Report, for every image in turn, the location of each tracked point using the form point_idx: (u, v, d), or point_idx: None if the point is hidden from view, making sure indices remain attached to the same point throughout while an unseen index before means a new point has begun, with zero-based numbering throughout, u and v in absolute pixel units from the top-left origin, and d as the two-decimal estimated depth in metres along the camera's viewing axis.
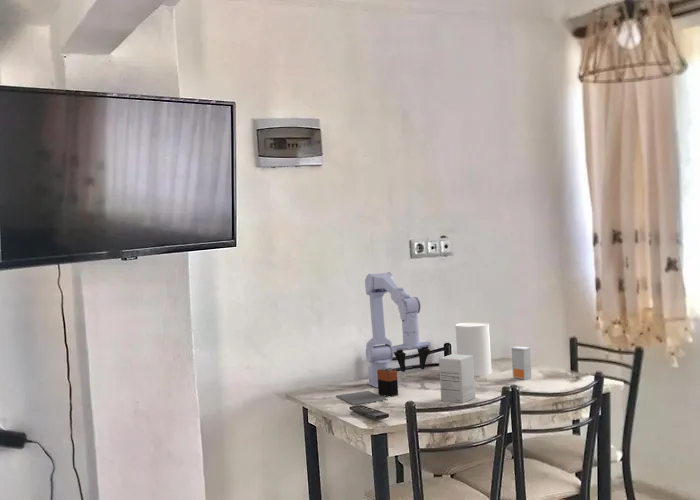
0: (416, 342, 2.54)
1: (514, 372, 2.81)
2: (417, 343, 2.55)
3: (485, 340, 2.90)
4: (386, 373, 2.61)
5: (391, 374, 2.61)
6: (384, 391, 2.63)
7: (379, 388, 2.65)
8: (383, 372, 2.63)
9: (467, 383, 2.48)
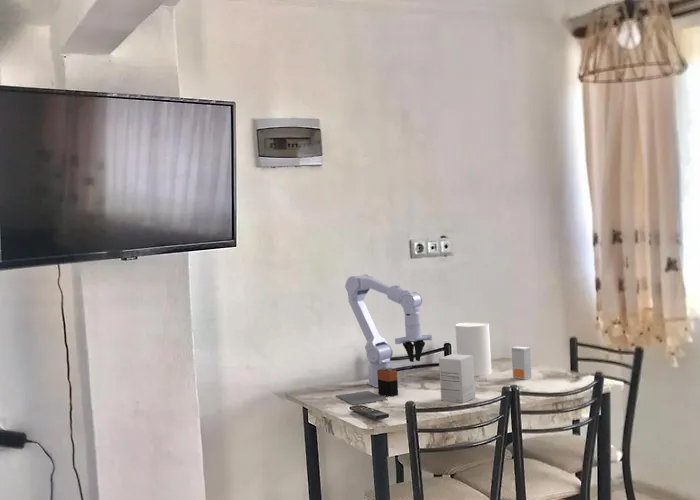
0: (418, 335, 2.70)
1: (514, 372, 2.81)
2: (419, 336, 2.70)
3: (485, 340, 2.90)
4: (386, 373, 2.61)
5: (391, 374, 2.61)
6: (384, 391, 2.63)
7: (379, 388, 2.65)
8: (383, 372, 2.63)
9: (467, 383, 2.48)
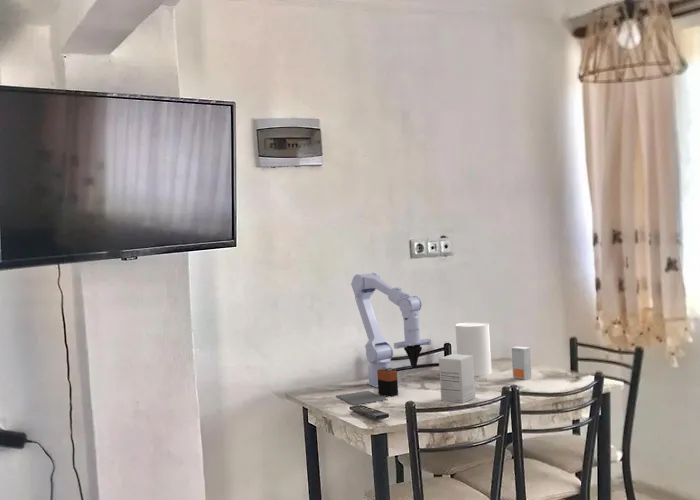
0: (417, 339, 2.66)
1: (514, 372, 2.81)
2: (418, 340, 2.67)
3: (485, 340, 2.90)
4: (386, 373, 2.61)
5: (391, 374, 2.61)
6: (384, 391, 2.63)
7: (379, 388, 2.65)
8: (383, 372, 2.63)
9: (467, 383, 2.48)
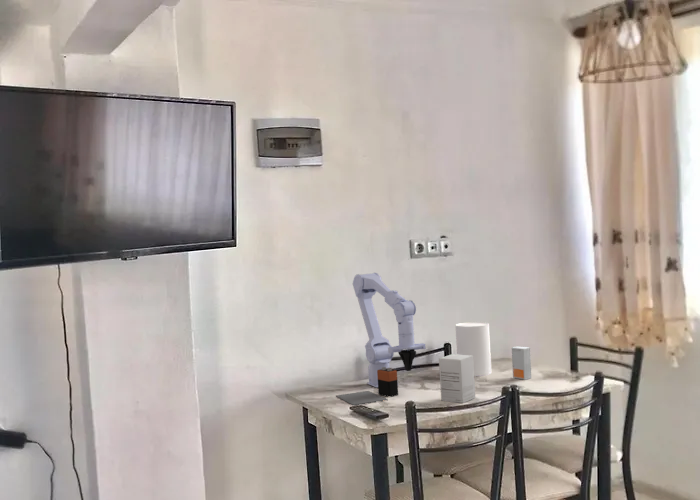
0: (411, 344, 2.65)
1: (514, 372, 2.81)
2: (412, 344, 2.66)
3: (485, 340, 2.90)
4: (386, 373, 2.61)
5: (391, 374, 2.61)
6: (384, 391, 2.63)
7: (379, 388, 2.65)
8: (383, 372, 2.63)
9: (467, 383, 2.48)
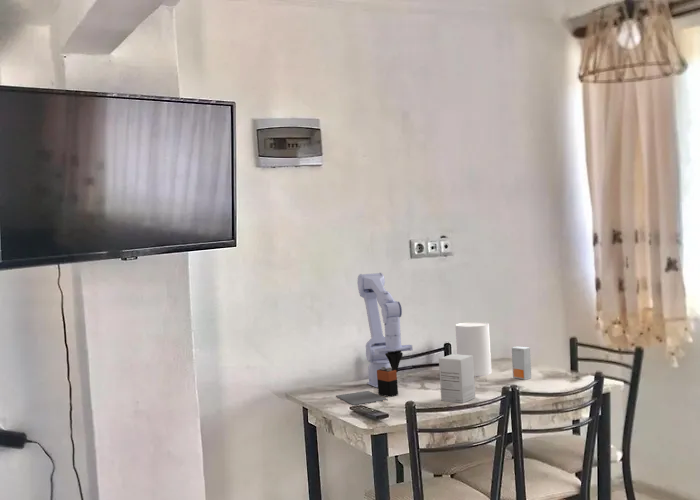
0: (398, 345, 2.63)
1: (514, 372, 2.81)
2: (399, 346, 2.64)
3: (485, 340, 2.90)
4: (386, 373, 2.61)
5: (390, 374, 2.61)
6: (384, 391, 2.63)
7: (379, 388, 2.65)
8: (383, 372, 2.63)
9: (467, 383, 2.48)
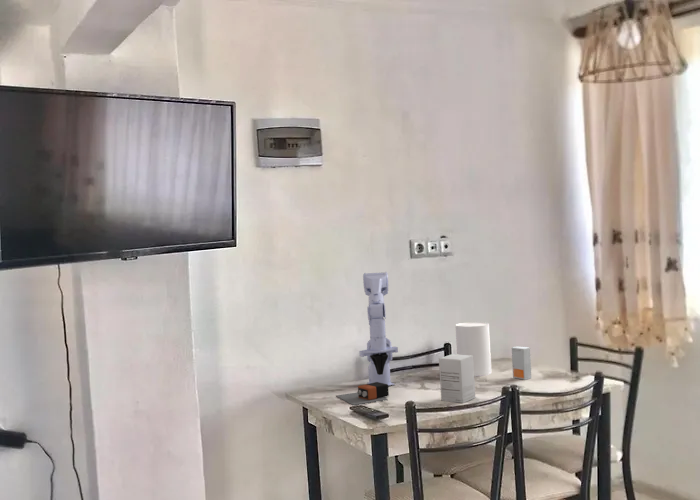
0: (383, 347, 2.61)
1: (514, 372, 2.81)
2: (384, 348, 2.61)
3: (485, 340, 2.90)
4: (368, 399, 2.57)
5: (371, 396, 2.56)
6: None
7: None
8: None
9: (467, 383, 2.48)
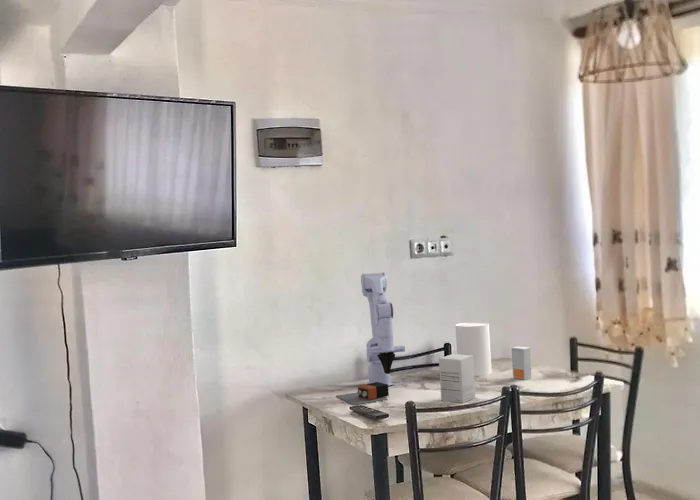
0: (390, 346, 2.62)
1: (514, 372, 2.81)
2: (391, 347, 2.63)
3: (485, 340, 2.90)
4: (368, 399, 2.57)
5: (371, 396, 2.56)
6: None
7: None
8: None
9: (467, 383, 2.48)
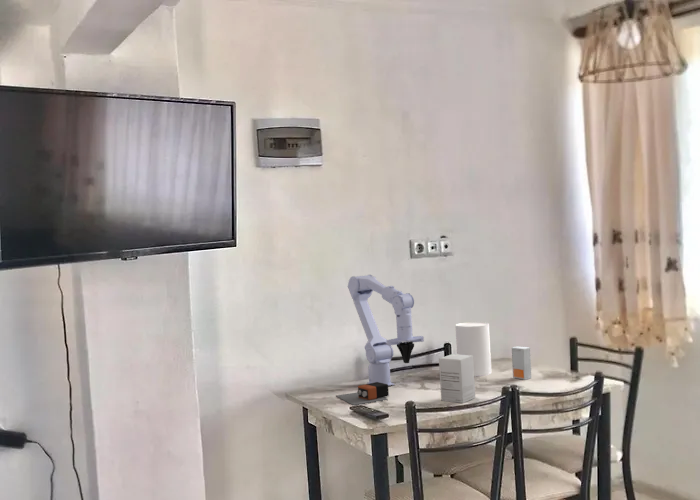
0: (409, 336, 2.67)
1: (514, 372, 2.81)
2: (410, 337, 2.68)
3: (485, 340, 2.90)
4: (368, 399, 2.57)
5: (371, 396, 2.56)
6: None
7: None
8: None
9: (467, 383, 2.48)
